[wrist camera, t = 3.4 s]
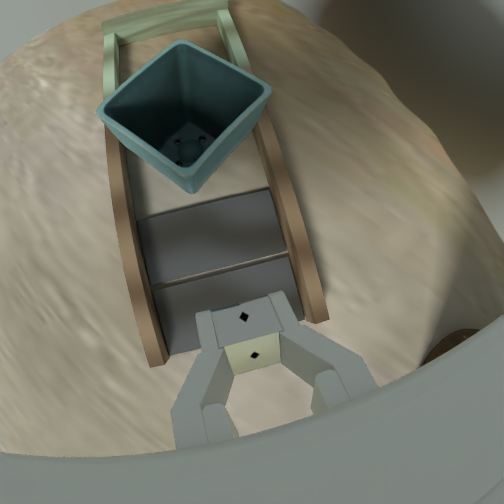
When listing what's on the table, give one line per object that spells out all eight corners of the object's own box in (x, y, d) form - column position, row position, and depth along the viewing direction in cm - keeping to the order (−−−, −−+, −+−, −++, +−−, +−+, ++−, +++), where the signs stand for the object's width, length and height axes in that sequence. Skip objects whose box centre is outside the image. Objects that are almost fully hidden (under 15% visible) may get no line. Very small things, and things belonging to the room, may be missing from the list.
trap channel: (319, 316, 25) (336, 320, 22) (156, 360, 23) (145, 372, 20) (224, 18, 29) (226, -5, 25) (109, 43, 27) (101, 21, 23)
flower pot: (187, 98, 27) (180, 35, 18) (258, 145, 27) (276, 87, 18) (125, 162, 25) (92, 111, 16) (197, 217, 25) (187, 180, 17)
